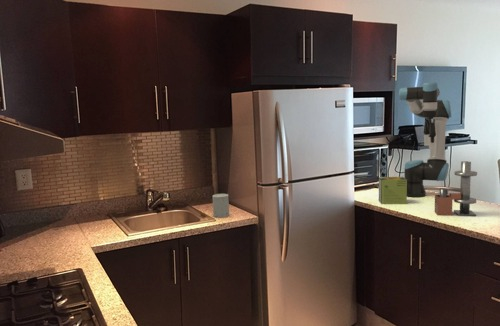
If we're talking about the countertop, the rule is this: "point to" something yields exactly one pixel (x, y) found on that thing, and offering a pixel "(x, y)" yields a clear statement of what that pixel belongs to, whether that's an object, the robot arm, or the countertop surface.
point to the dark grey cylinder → (443, 192)
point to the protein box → (393, 190)
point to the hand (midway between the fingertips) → (429, 147)
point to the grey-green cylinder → (220, 205)
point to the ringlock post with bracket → (458, 195)
